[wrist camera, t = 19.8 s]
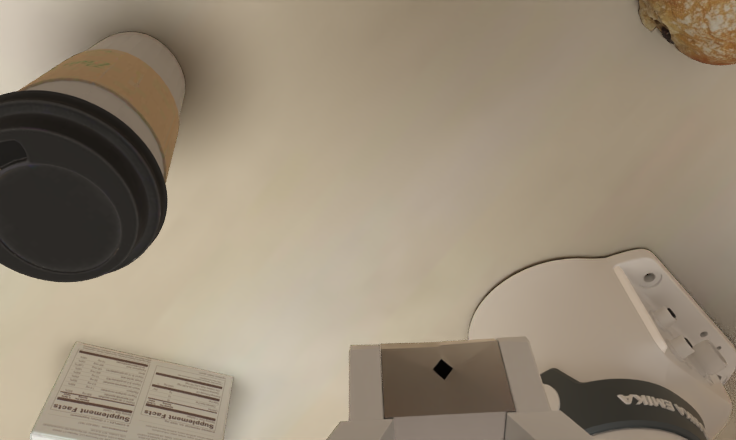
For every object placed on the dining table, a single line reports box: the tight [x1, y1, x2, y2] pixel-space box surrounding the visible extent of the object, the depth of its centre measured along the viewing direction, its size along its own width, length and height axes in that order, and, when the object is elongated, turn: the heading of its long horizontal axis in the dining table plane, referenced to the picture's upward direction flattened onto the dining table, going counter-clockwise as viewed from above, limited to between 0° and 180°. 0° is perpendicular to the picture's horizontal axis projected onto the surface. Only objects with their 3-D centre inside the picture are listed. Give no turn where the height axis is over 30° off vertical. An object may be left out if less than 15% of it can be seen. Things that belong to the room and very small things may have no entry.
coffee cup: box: [0, 32, 185, 282], centre depth 35 cm, size 9×9×15 cm
